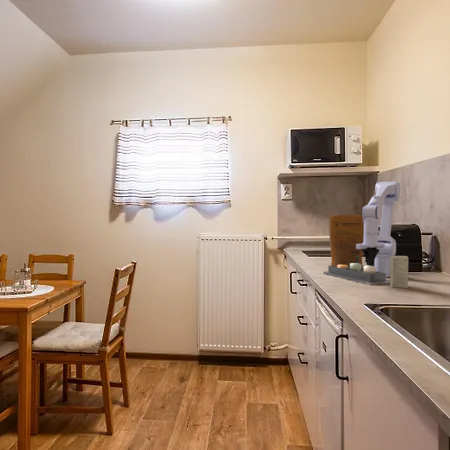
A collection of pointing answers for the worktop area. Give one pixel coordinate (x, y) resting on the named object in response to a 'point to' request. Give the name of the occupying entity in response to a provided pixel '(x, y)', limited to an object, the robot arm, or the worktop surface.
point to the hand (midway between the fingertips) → (369, 265)
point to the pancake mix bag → (346, 239)
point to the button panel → (357, 275)
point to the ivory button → (370, 269)
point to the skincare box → (399, 271)
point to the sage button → (355, 266)
